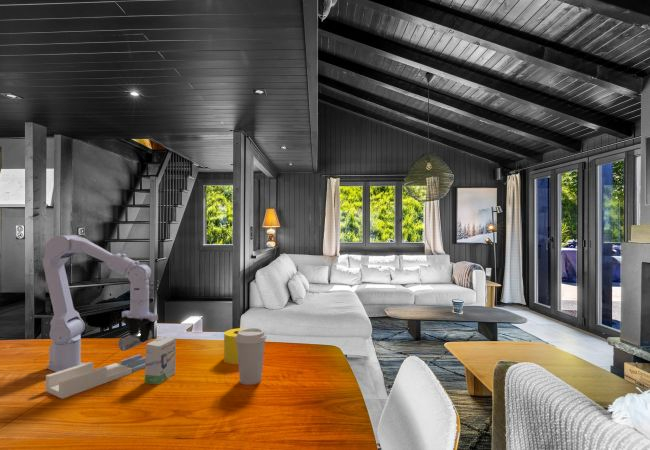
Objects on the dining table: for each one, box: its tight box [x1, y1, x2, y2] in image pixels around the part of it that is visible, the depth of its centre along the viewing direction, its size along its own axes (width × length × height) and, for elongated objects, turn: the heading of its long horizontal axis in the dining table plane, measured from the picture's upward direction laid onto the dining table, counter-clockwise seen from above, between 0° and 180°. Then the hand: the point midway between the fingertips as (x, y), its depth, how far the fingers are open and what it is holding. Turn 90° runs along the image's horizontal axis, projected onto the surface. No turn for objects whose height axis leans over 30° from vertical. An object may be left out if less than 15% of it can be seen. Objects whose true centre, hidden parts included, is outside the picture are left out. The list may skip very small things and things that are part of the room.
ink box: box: [144, 336, 177, 386], centre depth 113 cm, size 9×5×12 cm, turn 168°
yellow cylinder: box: [223, 327, 246, 365], centre depth 130 cm, size 10×10×9 cm
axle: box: [118, 330, 154, 352], centre depth 122 cm, size 10×4×4 cm, turn 158°
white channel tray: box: [45, 361, 133, 400], centre depth 110 cm, size 9×20×4 cm, turn 151°
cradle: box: [119, 353, 146, 373], centre depth 122 cm, size 8×7×2 cm
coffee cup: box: [235, 327, 267, 386], centre depth 112 cm, size 10×10×15 cm
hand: (139, 340), depth 124 cm, fingers closed on axle, 4 cm apart
